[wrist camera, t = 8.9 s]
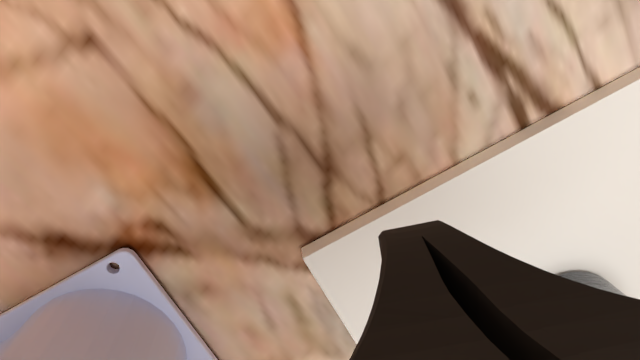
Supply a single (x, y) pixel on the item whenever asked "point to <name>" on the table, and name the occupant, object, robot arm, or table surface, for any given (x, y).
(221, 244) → the table surface
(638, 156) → the post base
